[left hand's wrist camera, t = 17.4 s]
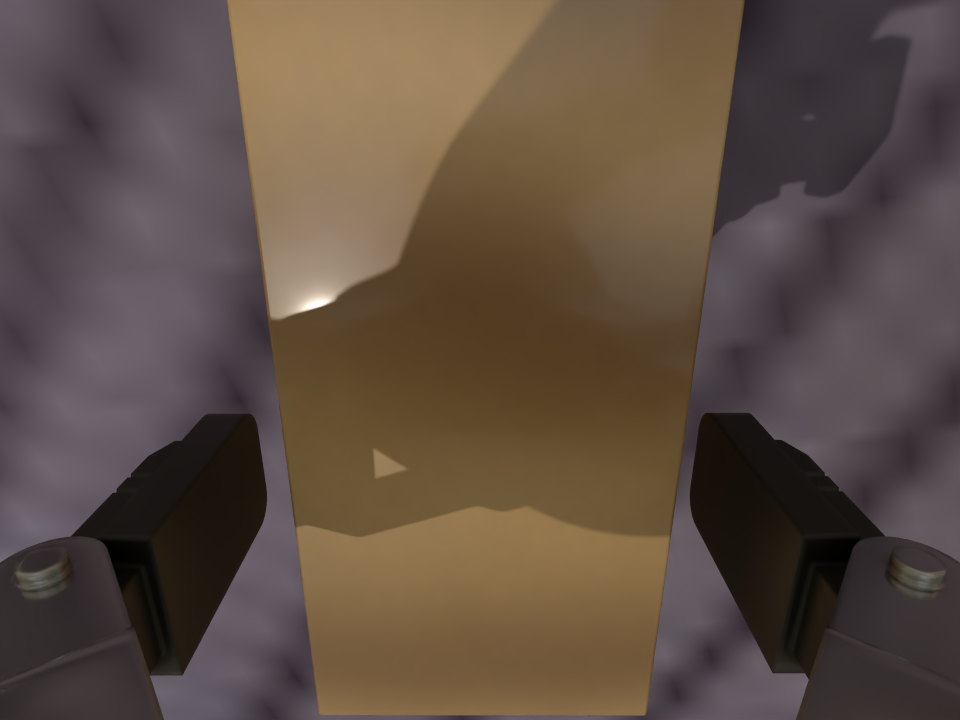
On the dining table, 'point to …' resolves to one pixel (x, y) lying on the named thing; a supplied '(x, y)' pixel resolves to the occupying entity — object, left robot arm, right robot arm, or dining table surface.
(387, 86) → the box
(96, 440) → the dining table surface
